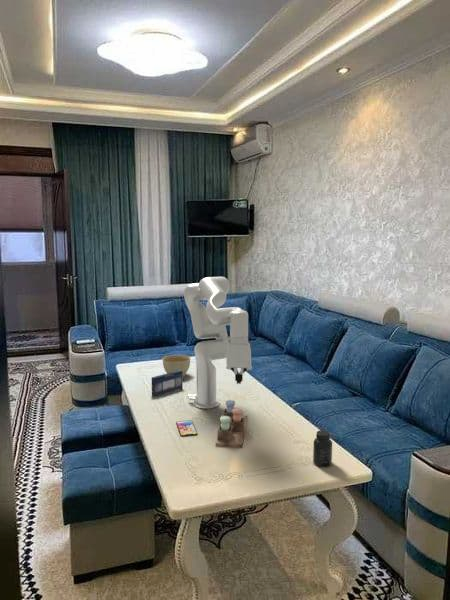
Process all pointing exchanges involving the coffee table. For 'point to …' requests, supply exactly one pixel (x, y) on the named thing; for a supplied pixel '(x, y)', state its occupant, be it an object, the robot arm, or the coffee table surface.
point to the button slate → (229, 406)
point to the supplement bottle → (322, 449)
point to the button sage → (225, 423)
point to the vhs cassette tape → (167, 383)
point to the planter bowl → (176, 363)
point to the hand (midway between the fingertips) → (238, 382)
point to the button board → (232, 432)
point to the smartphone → (186, 428)
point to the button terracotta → (237, 414)
